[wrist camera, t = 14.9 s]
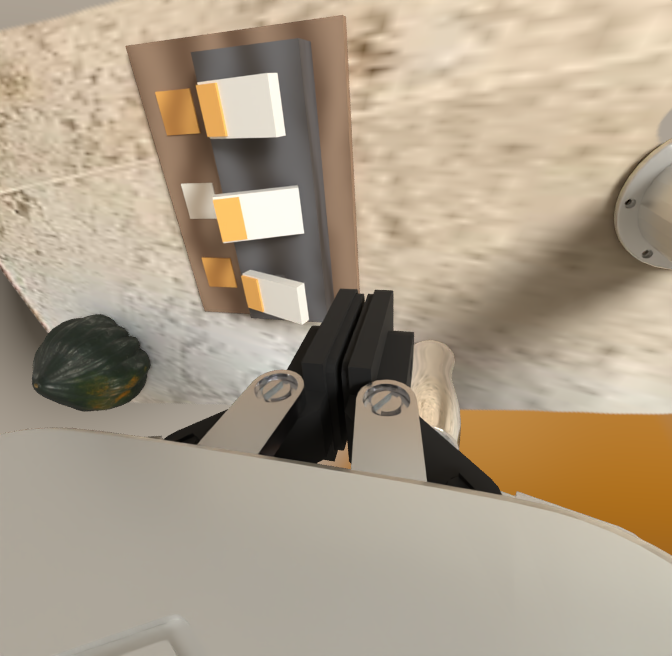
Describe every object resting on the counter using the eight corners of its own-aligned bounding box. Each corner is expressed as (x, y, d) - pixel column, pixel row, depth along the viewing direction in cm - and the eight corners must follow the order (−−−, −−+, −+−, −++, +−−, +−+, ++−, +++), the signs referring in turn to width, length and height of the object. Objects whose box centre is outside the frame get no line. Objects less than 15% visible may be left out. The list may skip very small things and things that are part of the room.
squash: (131, 421, 65) (79, 440, 50) (53, 376, 64) (-22, 382, 49) (177, 349, 66) (140, 347, 52) (102, 305, 66) (43, 290, 51)
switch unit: (345, 16, 33) (328, 6, 28) (360, 315, 49) (351, 341, 44) (133, 46, 38) (88, 42, 34) (209, 306, 54) (185, 328, 49)
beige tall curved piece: (441, 387, 52) (438, 481, 40) (394, 365, 52) (378, 453, 40) (469, 351, 48) (476, 444, 36) (418, 328, 48) (408, 412, 36)
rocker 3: (304, 283, 39) (294, 288, 38) (309, 319, 41) (300, 325, 40) (250, 269, 43) (240, 274, 42) (257, 303, 46) (248, 309, 45)
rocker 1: (277, 72, 30) (265, 73, 29) (285, 135, 32) (274, 137, 31) (207, 82, 34) (194, 82, 33) (219, 137, 36) (208, 139, 35)
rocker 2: (297, 185, 37) (298, 188, 36) (303, 229, 39) (304, 234, 38) (214, 194, 36) (212, 197, 35) (224, 239, 38) (223, 244, 37)
